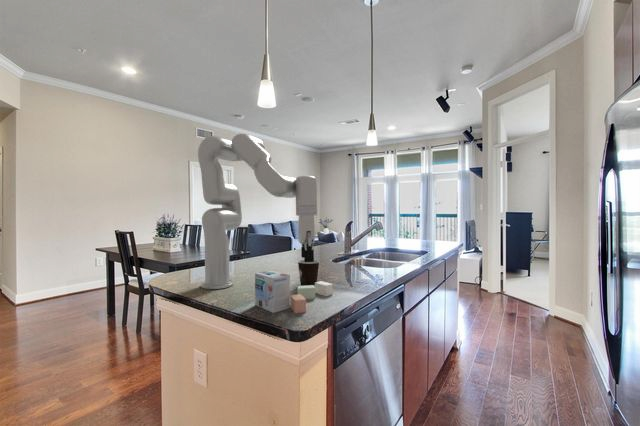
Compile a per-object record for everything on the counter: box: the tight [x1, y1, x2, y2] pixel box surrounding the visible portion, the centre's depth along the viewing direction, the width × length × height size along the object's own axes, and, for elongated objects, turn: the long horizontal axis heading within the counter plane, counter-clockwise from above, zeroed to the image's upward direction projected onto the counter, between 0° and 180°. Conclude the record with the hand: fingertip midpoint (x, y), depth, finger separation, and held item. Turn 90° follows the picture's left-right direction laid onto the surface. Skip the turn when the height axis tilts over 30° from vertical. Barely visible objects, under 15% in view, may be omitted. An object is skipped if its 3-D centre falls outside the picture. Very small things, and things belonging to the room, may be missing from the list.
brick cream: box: [315, 280, 334, 297], centre depth 115 cm, size 6×4×4 cm, turn 43°
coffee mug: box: [297, 259, 320, 286], centre depth 127 cm, size 12×9×10 cm
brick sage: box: [296, 285, 316, 300], centre depth 109 cm, size 6×4×4 cm, turn 99°
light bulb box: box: [254, 269, 291, 314], centre depth 100 cm, size 11×7×11 cm, turn 44°
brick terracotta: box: [290, 294, 307, 314], centre depth 97 cm, size 6×4×4 cm, turn 19°
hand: (307, 259), depth 109 cm, fingers open, 9 cm apart
